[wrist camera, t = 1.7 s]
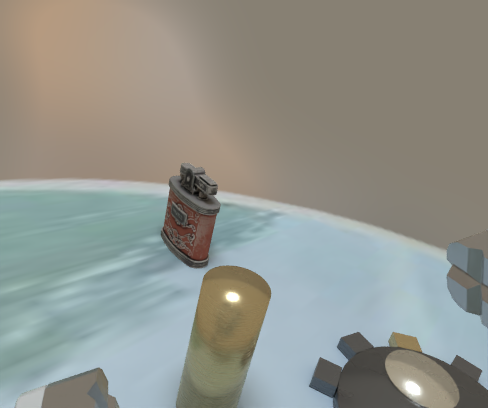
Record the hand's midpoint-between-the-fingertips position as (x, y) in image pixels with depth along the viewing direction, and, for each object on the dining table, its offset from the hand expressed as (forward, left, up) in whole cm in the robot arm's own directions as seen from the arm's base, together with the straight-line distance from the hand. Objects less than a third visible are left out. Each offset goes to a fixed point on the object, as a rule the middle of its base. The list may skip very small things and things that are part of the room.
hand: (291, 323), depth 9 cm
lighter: (-7, +34, -21) cm, 41 cm away
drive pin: (-1, +14, -21) cm, 25 cm away
